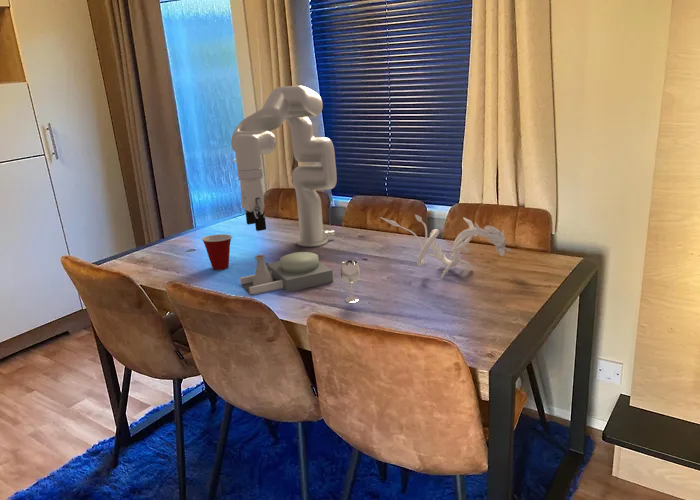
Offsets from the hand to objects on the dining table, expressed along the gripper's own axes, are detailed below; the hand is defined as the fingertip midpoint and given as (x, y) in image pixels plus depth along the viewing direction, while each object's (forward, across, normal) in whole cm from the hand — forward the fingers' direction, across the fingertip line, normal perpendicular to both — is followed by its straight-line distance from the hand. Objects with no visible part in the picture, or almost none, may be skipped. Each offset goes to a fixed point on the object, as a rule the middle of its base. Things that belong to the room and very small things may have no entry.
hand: (256, 226), depth 186 cm
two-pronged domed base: (+20, 0, +7) cm, 22 cm away
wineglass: (+20, +28, +19) cm, 40 cm away
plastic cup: (+20, -28, -7) cm, 35 cm away
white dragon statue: (+20, +26, +54) cm, 63 cm away
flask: (+20, 0, 0) cm, 20 cm away
